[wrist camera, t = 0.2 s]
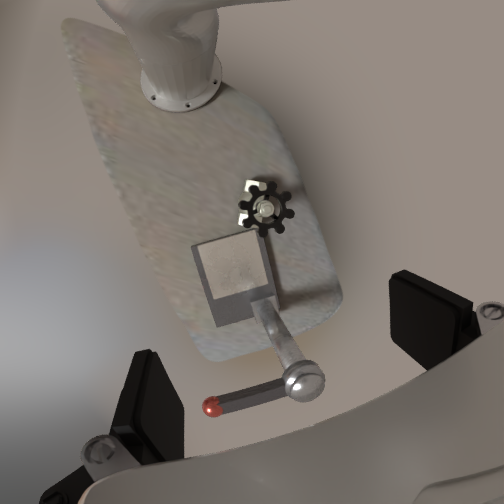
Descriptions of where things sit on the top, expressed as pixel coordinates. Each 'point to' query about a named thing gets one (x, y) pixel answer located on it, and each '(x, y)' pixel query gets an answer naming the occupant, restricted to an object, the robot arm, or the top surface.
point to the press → (250, 297)
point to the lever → (260, 391)
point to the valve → (262, 207)
